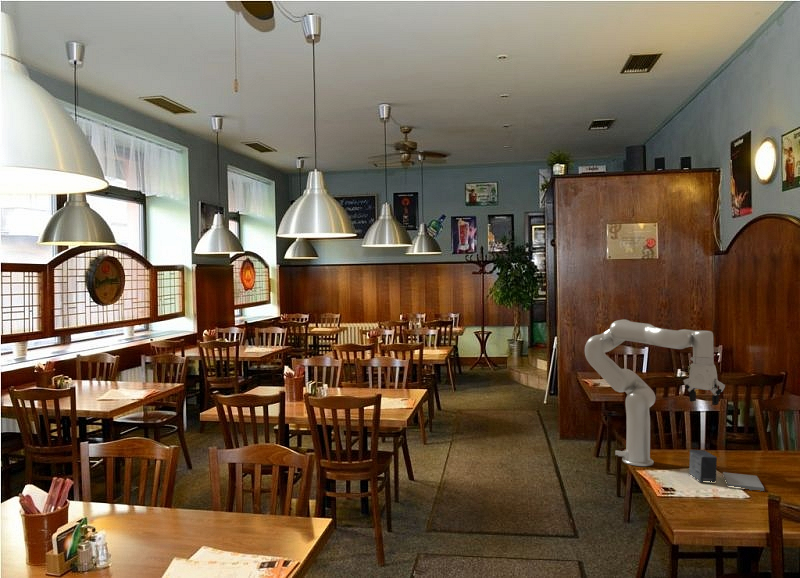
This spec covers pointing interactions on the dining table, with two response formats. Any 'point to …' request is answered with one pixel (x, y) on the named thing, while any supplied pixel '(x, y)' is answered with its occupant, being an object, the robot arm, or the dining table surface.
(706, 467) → the small box
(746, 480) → the slate board
